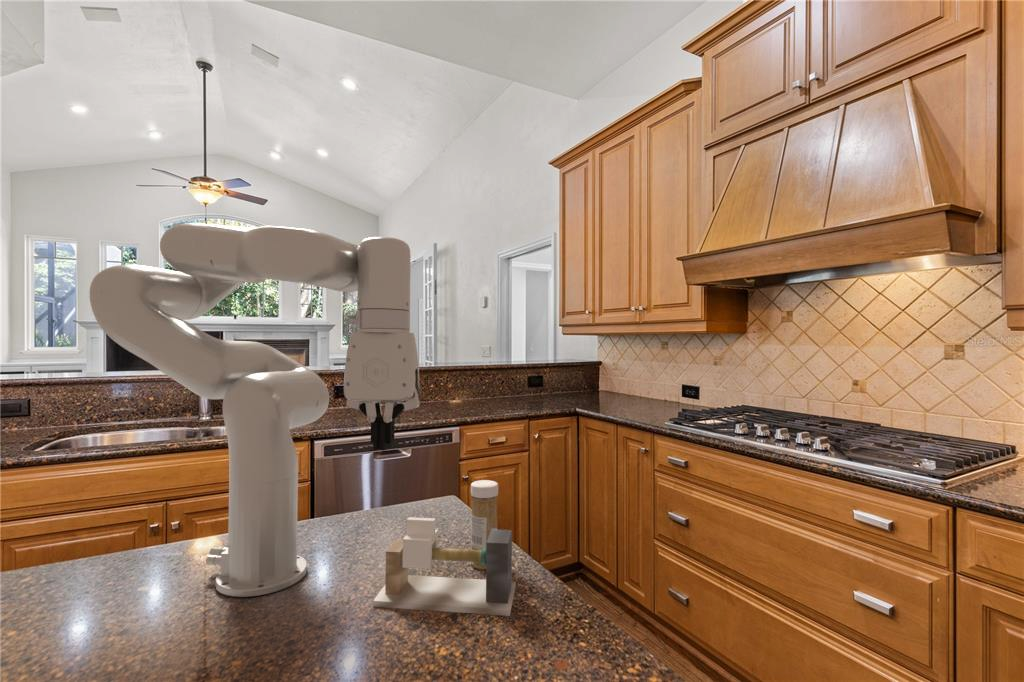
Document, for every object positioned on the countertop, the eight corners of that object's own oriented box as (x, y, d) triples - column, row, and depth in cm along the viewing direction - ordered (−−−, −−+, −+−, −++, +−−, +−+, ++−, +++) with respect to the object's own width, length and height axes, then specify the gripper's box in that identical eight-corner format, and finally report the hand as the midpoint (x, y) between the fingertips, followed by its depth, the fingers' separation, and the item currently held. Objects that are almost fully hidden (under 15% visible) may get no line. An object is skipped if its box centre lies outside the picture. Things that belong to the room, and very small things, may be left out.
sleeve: (402, 567, 69) (403, 523, 69) (411, 555, 73) (412, 513, 73) (430, 569, 69) (430, 524, 69) (437, 556, 73) (438, 514, 73)
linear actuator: (372, 606, 68) (373, 541, 68) (393, 579, 76) (393, 520, 76) (509, 615, 66) (510, 548, 66) (515, 586, 74) (516, 526, 74)
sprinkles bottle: (502, 566, 81) (503, 484, 81) (478, 573, 78) (479, 488, 78) (488, 556, 84) (489, 477, 85) (465, 562, 82) (465, 481, 82)
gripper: (322, 322, 69) (321, 452, 69) (426, 322, 68) (425, 455, 67) (346, 324, 77) (344, 442, 76) (439, 324, 75) (438, 444, 75)
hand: (382, 448), depth 72 cm, fingers closed
